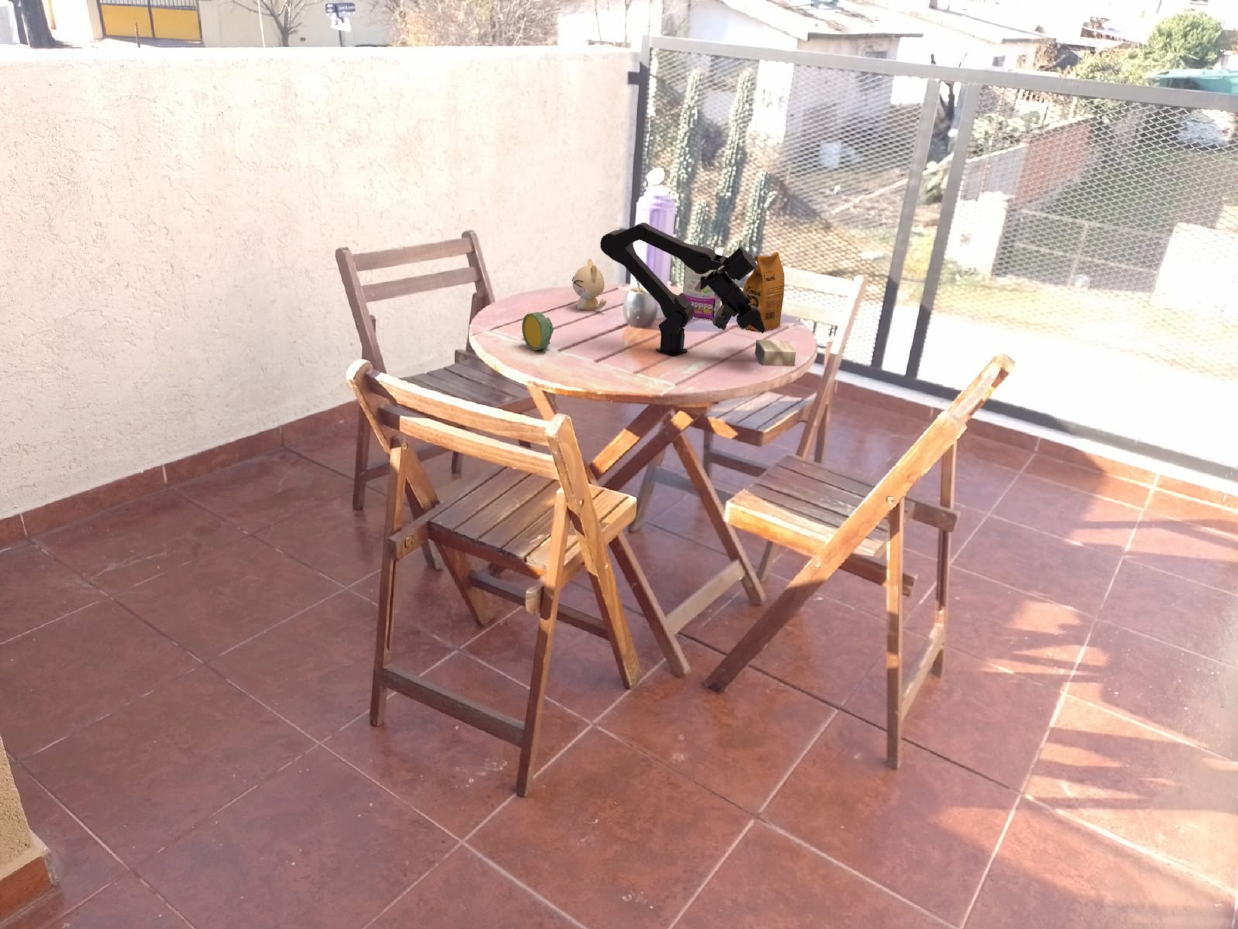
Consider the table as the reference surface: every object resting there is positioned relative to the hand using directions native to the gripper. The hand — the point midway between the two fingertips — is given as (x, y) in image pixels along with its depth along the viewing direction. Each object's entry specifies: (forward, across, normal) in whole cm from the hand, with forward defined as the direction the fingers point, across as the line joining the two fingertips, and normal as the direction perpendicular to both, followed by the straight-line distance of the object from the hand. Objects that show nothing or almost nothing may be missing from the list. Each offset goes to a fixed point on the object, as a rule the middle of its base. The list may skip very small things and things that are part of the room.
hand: (763, 331), depth 241 cm
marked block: (+4, 0, -5) cm, 6 cm away
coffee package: (+9, -32, -2) cm, 33 cm away
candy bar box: (-3, -42, -14) cm, 44 cm away
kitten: (-28, -46, -39) cm, 67 cm away
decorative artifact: (-36, -4, -48) cm, 60 cm away
